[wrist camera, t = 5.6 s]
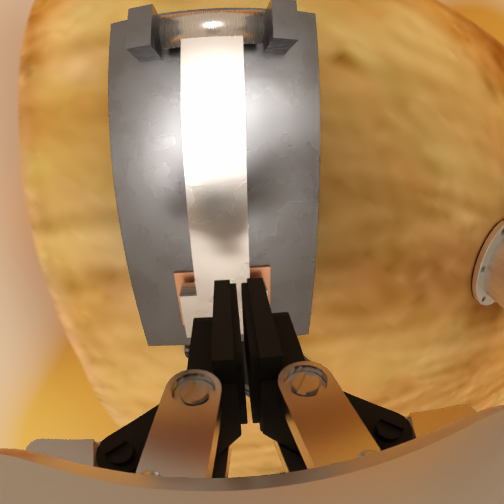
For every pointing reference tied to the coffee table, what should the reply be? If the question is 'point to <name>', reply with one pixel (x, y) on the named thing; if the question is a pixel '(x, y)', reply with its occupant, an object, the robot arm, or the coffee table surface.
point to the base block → (257, 163)
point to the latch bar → (214, 147)
